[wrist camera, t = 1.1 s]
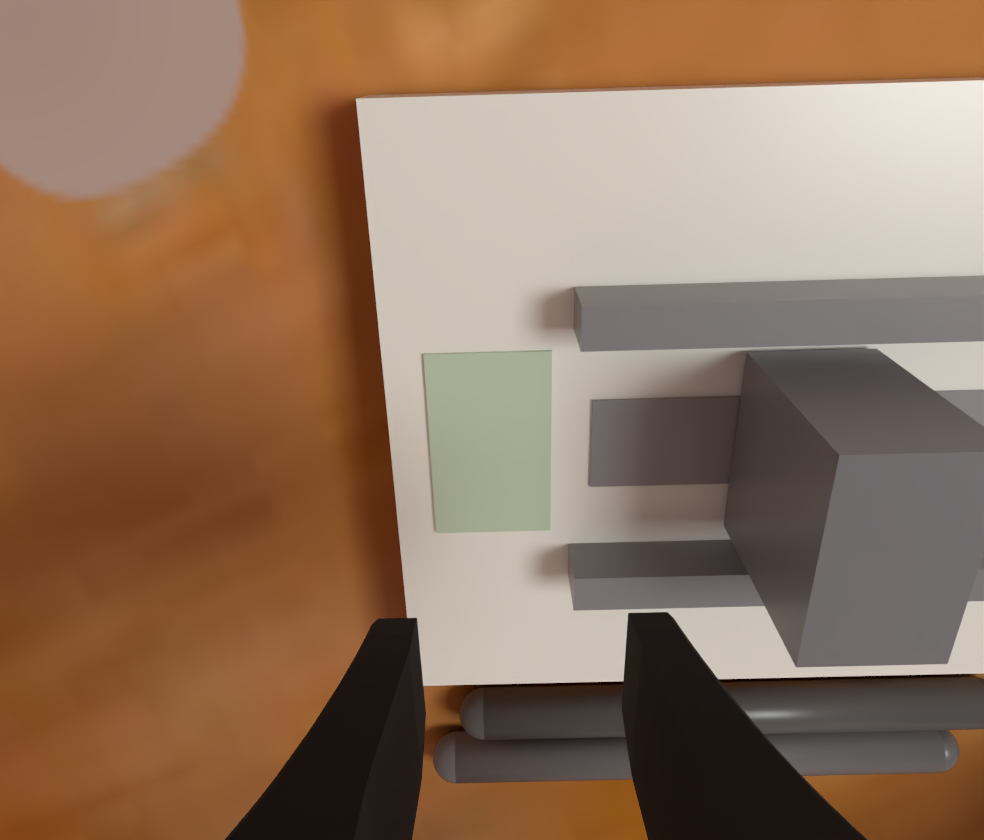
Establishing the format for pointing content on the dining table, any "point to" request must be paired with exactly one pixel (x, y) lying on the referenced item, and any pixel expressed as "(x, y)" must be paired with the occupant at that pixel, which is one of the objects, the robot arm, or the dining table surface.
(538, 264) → the white board with rails
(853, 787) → the dining table surface
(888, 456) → the switch knob
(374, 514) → the dining table surface
